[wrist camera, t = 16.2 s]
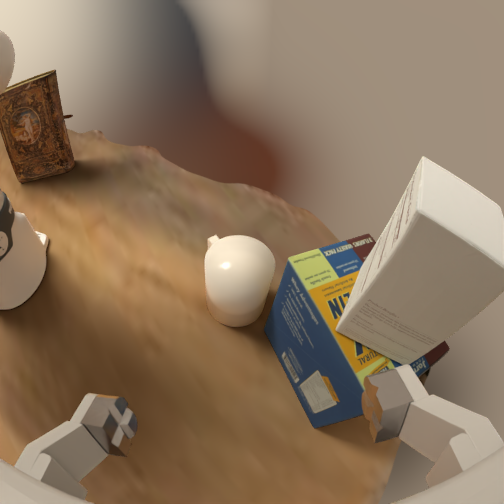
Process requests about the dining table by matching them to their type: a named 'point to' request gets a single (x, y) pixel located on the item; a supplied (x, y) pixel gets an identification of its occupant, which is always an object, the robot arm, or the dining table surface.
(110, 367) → the dining table surface
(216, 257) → the off-white mug
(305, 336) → the protein box
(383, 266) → the supplement box
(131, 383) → the dining table surface
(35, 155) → the book
